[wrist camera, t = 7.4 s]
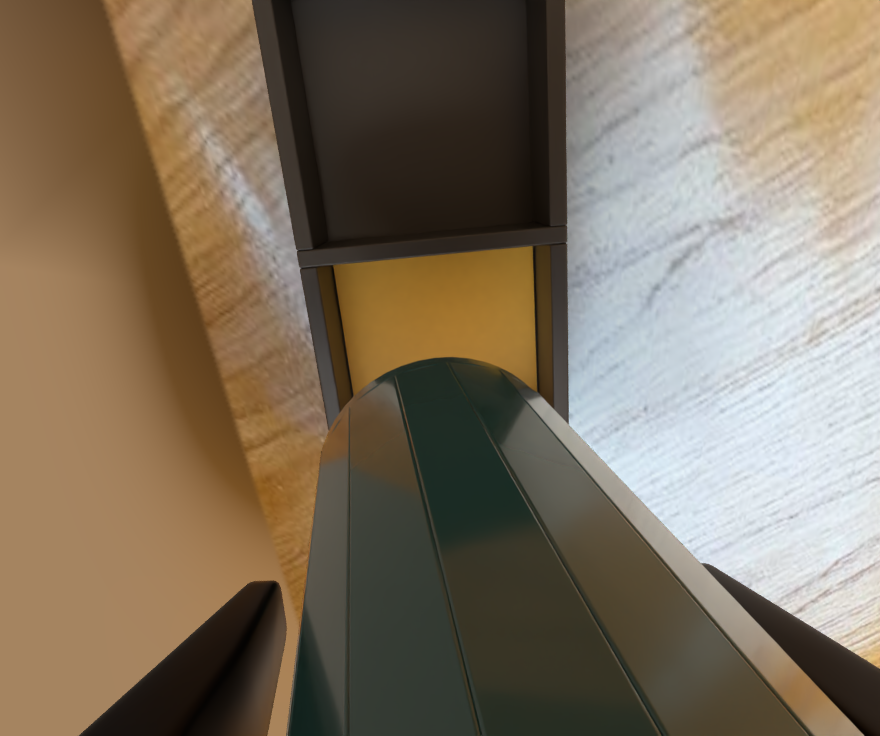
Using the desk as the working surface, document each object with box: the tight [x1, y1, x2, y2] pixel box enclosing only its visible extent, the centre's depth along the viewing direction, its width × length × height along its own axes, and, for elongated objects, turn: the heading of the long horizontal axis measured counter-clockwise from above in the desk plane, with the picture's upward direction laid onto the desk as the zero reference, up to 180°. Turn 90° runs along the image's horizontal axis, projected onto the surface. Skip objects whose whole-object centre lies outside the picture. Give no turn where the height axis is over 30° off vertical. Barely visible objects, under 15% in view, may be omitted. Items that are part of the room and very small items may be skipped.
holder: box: [252, 0, 569, 430], centre depth 16 cm, size 15×8×3 cm, turn 5°
